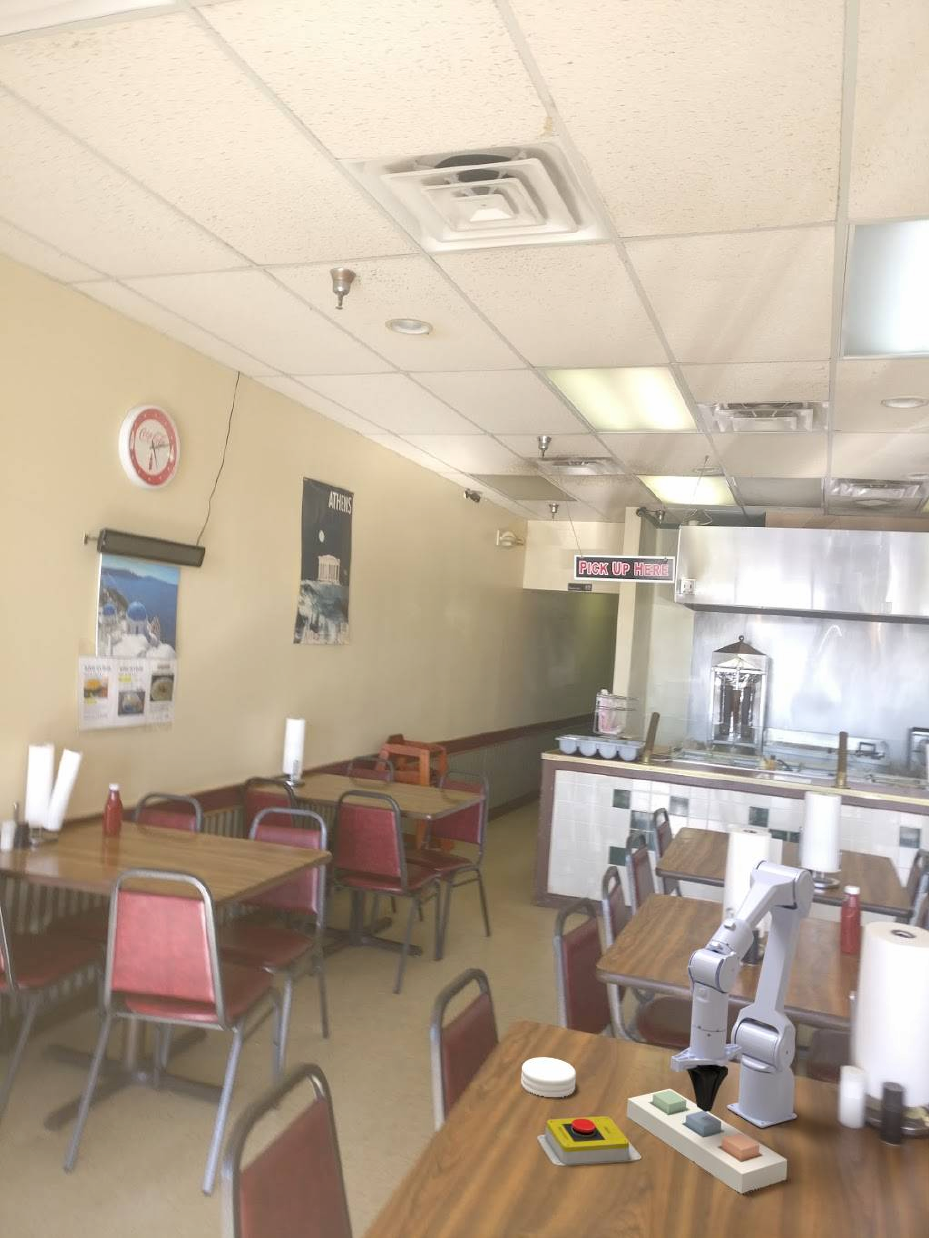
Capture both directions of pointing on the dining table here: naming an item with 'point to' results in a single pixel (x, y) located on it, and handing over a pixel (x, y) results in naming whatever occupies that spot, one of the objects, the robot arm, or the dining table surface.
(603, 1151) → the emergency button
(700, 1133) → the slate-blue button
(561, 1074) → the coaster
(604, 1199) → the dining table surface
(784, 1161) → the button panel
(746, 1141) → the terracotta button
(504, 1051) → the dining table surface
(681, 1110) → the sage-green button
